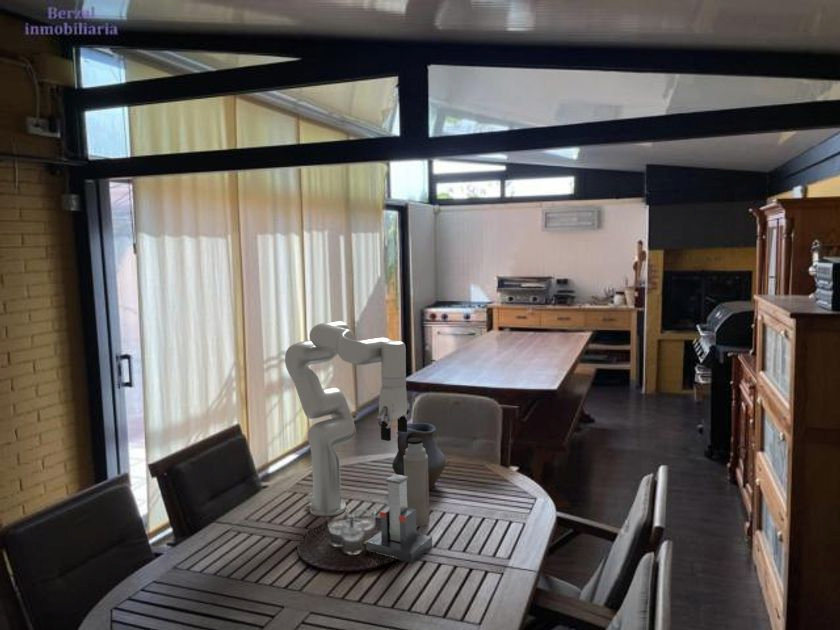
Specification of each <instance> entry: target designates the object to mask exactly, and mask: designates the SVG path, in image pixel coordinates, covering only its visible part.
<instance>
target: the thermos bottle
mask: <svg viewBox="0 0 840 630" xmlns="http://www.w3.org/2000/svg"><path fill="white" fill-rule="evenodd" d="M407 441H408V448H407V449H406V450H405V454H406V455H404V476H408V480H407V510H408V509H410V508H411V509H416V528H417V527H424V526H427V525H428V524H429V523H430V522H431V521H430V491H429V490H430V489H429V483H428V455H427V454H426V451H425V448H424V447H423V444H422V439H421V438H410V439H408V440H407Z"/></svg>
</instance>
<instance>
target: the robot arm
mask: <svg viewBox="0 0 840 630" xmlns="http://www.w3.org/2000/svg"><path fill="white" fill-rule="evenodd" d="M406 351H407V349H406V344H405V343H404V342H403V341H399V340H391V339H389V338H387V337H376V338H367V339H364V340H357V339H356V335H355V332H354V331H352V330H351V328H350V327H349V324H347V323H346V322H343V321H341V320H338V321H330V322H322V323H318V324H316V325H314V326H313V327H312V328H311V329H310V332H309V340H305V341H299V342H296V343H293V344H291V345H290V346H289V347H288V348H287V349H286V351H285V354H284V365H285V368H286V371H287V372H288V374H289V376H290V378H291V380H292V382H293V384H294V387H295V389H296V393H297V396H298V398H299V401H300V405H301V407H302V410H303V413H304V415H305V416H306V418H308V419H311V420H316V419H317V420H318V419H320V418H324V417H329V416H330V417H331V418H328V419H324V420H320V421H318V422H316V423H314V424H312V425H311V426H310V428H308V430H307V440H308V444H309V449H310V454H311V468H312V469H311V470H312V471H311V472H312V489H313V490H312V492H309V493H308V496H307V497H306V499H305V500H306V501H307V502H311V505H310V507H309V512H310V513H311V515H314V516H317V517H332V516H336V515H340V514H342V513H343V512H345V511H346V510H347V504H346V503H345V502H344V501H343V500H342V486H341V485H342V482H341V464H340V463H341V461H340V457H339V455H338V453H337V452H336V451H335V448H334V447H337V446H340V445H342V444H346V443H349V442H350V441H352V440H353V439H354V438H355V436H356V432H357V431H356V425H355V422H354V419H353V416H352V413H351V409H350V406H349V403H348V402H347V399H346V396H345V394H344V393H343V392H342V391H341V390H340V389H339V388H337V387H327V388H323V387H322V384H321V382H320V379H319V377H318V375H317V374H316V373H315V371H313V369H311V368H310V367H309V366H312V365H316V364H323V363H327V362H329V361H331V360H333V359H334V358H336V356H338V357H339V358H340V359H341V360H342V361H344V362H346V363H349V364H351V365H356V366H367V365H371V364H375V363H380V367H381V369H380V370H381V379H380V381H381V387H380V391H379V400H378V414H377V415H376V416H377V417H376V418H377V421H378V425H379V428H380V440H381V441H387V442H390V441H392V436H391V435H392V429H391V427H390V426H391V423H392V421H395V420H397V432H399V431H400V432H407V424H408V419H409V415H408V414H409V412H410V410H409V409H410V405H411V404H410V402H409V401H408V393H407V387H406V386H407V372H406V371H407V362H406V361H407V356H406V355H407V354H406V353H407V352H406ZM386 421H387V422H386Z"/></svg>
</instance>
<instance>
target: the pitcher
mask: <svg viewBox="0 0 840 630" xmlns="http://www.w3.org/2000/svg"><path fill="white" fill-rule="evenodd" d="M436 429H437V428H436V427H435V426H434V425H433V424H431V423H427V422H426V423H424V422H414V423H413V422H412V423H407V432H400V431H398V434H397V439H396V440H397V442H396V443H397V444H396V445H397V453H396V455H395V457H394V459H393V460H392V464H391V467H392V470H393V472H394V474H397V475H403V476H404V455H406V454H405V450H406V449H407V448H408V441H407V440H408V439H410V438H421V439H422V444H423V447H424V448H425V451H426V454H427V455H428V483H429V490H431V489H433V487H434V486H435V484H436V483H437V481H438V480H439V478H440V477H441V475H442V473H443V471H444V469H445V467H446V463H447V459H446V456H445V454H444V453H443V452H442V451H441V449H439V447H438V446H437V442H436V440H435V438H434V436H433V434H434V433H435V432H436Z"/></svg>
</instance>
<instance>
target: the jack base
mask: <svg viewBox="0 0 840 630" xmlns="http://www.w3.org/2000/svg"><path fill="white" fill-rule="evenodd" d="M379 517H380V531H378V533H376V534H375V535H373V536H372V537H370V538H369V539H367V540H366V541H365V548H366V549H365V550H369V551H374V552H378V553H382V554H386V555H391V556H395V557H397V558H398V561H400V562H401V561H402V562H405V563H407V564H408V563H410V564H412V563H414V562H415V561H416V560H418V559H419V558H420V557H422V555H423V554H425V553H427V551H428V550H430V549H431V548H432V547H433V536H431V535H426V534H423V533H418V532H417V527H416V509H411V508H410V509H408V510H407V511H406V512H404V513H403V514H401V515H400V516H399V521H400V542H398V541H394V540H390V533H389V529H390V526H389V505H388V506H387V507H385V508H383V509H382V510H380V511H379Z"/></svg>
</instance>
